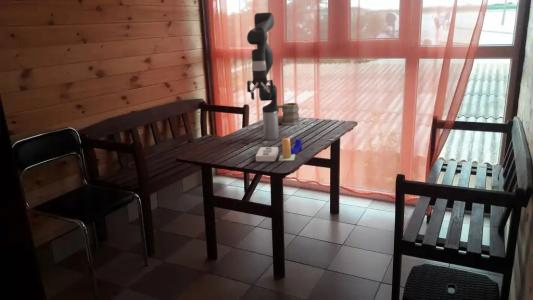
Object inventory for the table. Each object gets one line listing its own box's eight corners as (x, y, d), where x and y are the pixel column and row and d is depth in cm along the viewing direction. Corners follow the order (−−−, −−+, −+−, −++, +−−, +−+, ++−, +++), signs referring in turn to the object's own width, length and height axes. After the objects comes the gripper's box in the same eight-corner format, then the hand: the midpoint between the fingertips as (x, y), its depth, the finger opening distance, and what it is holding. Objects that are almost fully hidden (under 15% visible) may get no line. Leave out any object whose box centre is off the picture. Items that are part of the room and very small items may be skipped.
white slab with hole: (260, 152, 248) (260, 147, 247) (278, 152, 246) (278, 146, 245) (255, 161, 233) (255, 155, 232) (274, 161, 231) (274, 155, 230)
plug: (283, 155, 237) (282, 138, 234) (291, 155, 236) (290, 137, 233) (282, 158, 233) (281, 140, 230) (290, 158, 232) (289, 140, 229)
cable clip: (291, 154, 238) (290, 144, 236) (284, 153, 241) (284, 143, 239) (303, 150, 247) (303, 139, 245) (297, 149, 249) (297, 139, 248)
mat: (280, 155, 240) (280, 154, 240) (295, 155, 239) (295, 154, 239) (278, 161, 231) (278, 160, 231) (293, 161, 229) (293, 159, 229)
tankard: (300, 121, 317) (299, 100, 312) (299, 125, 305) (298, 104, 300) (272, 122, 319) (271, 101, 315) (271, 126, 307) (269, 105, 303)
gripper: (273, 68, 237) (274, 97, 241) (247, 69, 239) (249, 98, 243) (271, 69, 230) (273, 100, 234) (244, 70, 232) (246, 101, 236)
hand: (261, 99), depth 239 cm, fingers open, 8 cm apart
